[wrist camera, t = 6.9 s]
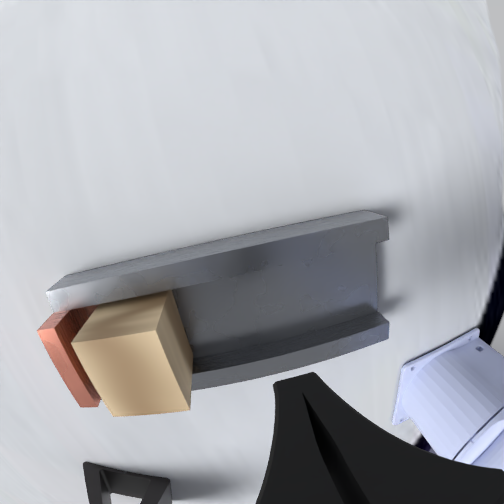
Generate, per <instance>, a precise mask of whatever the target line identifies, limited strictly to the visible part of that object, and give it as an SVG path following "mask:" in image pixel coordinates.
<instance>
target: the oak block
mask: <svg viewBox="0 0 504 504" xmlns="http://www.w3.org/2000/svg"><path fill="white" fill-rule="evenodd" d="M71 344H72V346H73V348H74V350H75V352H76V354H77V356H78V358H79V360H80V362H81V364H82V366H83V368H84V369H85V371H86V373H87V375H88V377H89V378H90V380H91V382H92V383H93V385H94V387H95V389H96V390H97V392H98V394H99V395H100V397H101V398H102V400H103V402H104V403H105V405H106V406H107V408H108V409H109V411H110V412H111V414H112V415H113V417H118V416H137V415H150V414H161V413H171V412H180V411H187V410H190V404H191V384H192V368H193V352H192V350H191V347H190V344H189V341H188V338H187V335H186V332H185V330H184V327H183V324H182V321H181V318H180V315H179V311H178V308H177V305H176V302H175V299H174V296H173V292H172V290H167V291H162V292H157V293H152V294H147V295H142V296H137V297H133V298H128V299H123V300H118V301H112V302H107V303H102V304H99V305H98V307H97V308H96V309H95V310H94V312H93V313H92V315H91V316H90V317H89V319H88V320H87V321H86V323H85V324H84V325H83V327H82V328H81V330H80V331H79V332H78V334H77V335H76V337H75V338H74V339H73V341H72V342H71Z"/></svg>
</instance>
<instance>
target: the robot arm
mask: <svg viewBox="0 0 504 504" xmlns="http://www.w3.org/2000/svg"><path fill="white" fill-rule="evenodd" d="M479 333H480V330H479V329H478V328H475V329H473V330H472V331H470V332H468V333H466V334H465V335H463V336H461V337H459V338H457V339H456V340H454V341H452V342H450V343H448V344H446V345H444V346H442V347H440V348H438V349H436V350H434V351H432V352H430V353H428V354H426V355H424V356H422V357H420V358H418V359H416V360H413V361H411V362H409V363H407V364H405V365H404V366H403V367H402V370H401V376H400V382H399V388H398V394H397V399H396V405H395V410H394V415H393V419H392V423H393V425H398V424H400V423H402V422H404V421H406V420H408V419H410V418H411V420H412V421H413V422H414V424H415V425H416V426H417V428H418V429H419V430H420V432H421V433H422V434H423V436H424V437H425V438H426V440H427V441H428V443H429V444H430V445H431V447H432V448H433V449H434V451H435V452H436V453H437V455H436V454H433V453H430V452H428V451H425V450H422V449H420V448H418V447H415V446H413V445H411V444H409V443H407V442H405V441H403V440H401V439H399V438H397V437H395V436H394V435H392V434H390V433H388V432H387V431H385V430H383V429H382V428H380V427H379V426H377V425H376V424H374V423H373V422H371V421H370V420H368V419H367V418H365V417H364V416H363V415H361V414H360V413H359V412H357V411H356V410H355V409H354V408H352V407H351V406H350V405H349V404H347V403H346V402H345V401H344V400H343V399H341V398H340V397H339V396H338V395H337V394H336V393H335V392H334V391H333V390H332V389H331V388H329V387H328V386H327V385H326V384H325V383H324V382H323V380H322V379H321V378H320V377H319V376H318V375H317V374H316V373H314V372H311V373H307V374H304V375H300V376H296V377H292V378H289V379H285V380H281V381H277V382H275V383H274V384H273V388H274V393H275V423H274V433H273V440H272V446H271V451H270V457H269V461H268V466H267V470H266V473H265V477H264V480H263V484H262V487H261V490H260V493H259V496H258V498H257V501H256V504H504V357H503V356H502V355H501V354H500V353H498V352H497V351H495V350H494V349H493V348H492V347H490V346H489V345H488V344H486V343H485V342H484V341H482V340H481V339H480V338H478V337H479Z"/></svg>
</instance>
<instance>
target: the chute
mask: <svg viewBox="0 0 504 504" xmlns="http://www.w3.org/2000/svg"><path fill="white" fill-rule="evenodd" d="M386 240H389V228H388V217H386V216H383V215H380V214H377V213H373V212H370V211H367V210H362V211H356V212H351V213H346V214H341V215H336V216H331V217H326V218H321V219H316V220H311V221H306V222H302V223H297V224H292V225H287V226H282V227H277V228H273V229H268V230H263V231H259V232H254V233H249V234H245V235H240V236H235V237H231V238H226V239H222V240H217V241H212V242H208V243H203V244H199V245H194V246H190V247H186V248H181V249H177V250H172V251H168V252H164V253H159V254H155V255H151V256H146V257H142V258H138V259H133V260H129V261H125V262H121V263H117V264H112V265H108V266H104V267H100V268H96V269H92V270H88V271H83V272H79V273H75V274H71V275H67V276H64V277H63V278H62V279H61V280H59V281H58V282H57V283H56V284H55V285H53V286H52V287H51V288H50V289H49V290H47V291H46V292H45V293H46V295H47V298H48V300H49V303H50V305H51V308H52V310H53V312H54V313H53V314H52V315H51V316H50V317H49V318H48V319H47V320H46V321H45V322H44V323H43V325H42V326H41V327H40V328H39V329H38V330H37V332H38V334H39V336H40V338H41V340H42V342H43V344H44V346H45V348H46V350H47V352H48V354H49V356H50V358H51V359H52V361H53V363H54V365H55V367H56V368H57V370H58V372H59V374H60V375H61V377H62V379H63V381H64V382H65V384H66V385H67V387H68V389H69V390H70V392H71V393H72V395H73V397H74V398H75V400H76V401H77V403H78V404H79V406H80V407H98V405H99V402H100V400H102V398H101V397H100V395H99V394H98V392H97V390H96V389H95V387H94V385H93V383H92V382H91V380H90V378H89V377H88V375H87V373H86V371H85V369H84V368H83V366H82V364H81V362H80V360H79V358H78V356H77V354H76V352H75V350H74V348H73V346H72V344H71V342H72V341H73V339H74V338H75V337H76V335H77V334H78V332H79V331H80V330H81V328H82V327H83V325H84V324H85V323H86V321H87V320H88V319H89V317H90V316H91V315H92V313H93V312H94V310H95V309H96V308H97V307H98V305H99V304H102V303H107V302H112V301H118V300H123V299H128V298H133V297H137V296H142V295H147V294H152V293H157V292H162V291H167V290H172V292H173V296H174V299H175V302H176V305H177V308H178V311H179V315H180V318H181V321H182V324H183V327H184V330H185V332H186V335H187V338H188V341H189V344H190V347H191V350H192V352H193V368H192V384H191V391H193V390H199V389H205V388H211V387H217V386H222V385H227V384H232V383H237V382H242V381H247V380H252V379H256V378H261V377H265V376H269V375H273V374H277V373H281V372H285V371H289V370H293V369H297V368H300V367H304V366H308V365H311V364H315V363H318V362H321V361H325V360H328V359H331V358H334V357H338V356H341V355H344V354H347V353H350V352H353V351H356V350H359V349H362V348H364V347H367V346H370V345H373V344H376V343H378V342H381V341H384V340H386V339H388V338H389V321H388V320H386V319H385V318H384V317H383V316H382V315H381V314H380V313H379V312H378V311H377V260H376V243H378V242H382V241H386Z"/></svg>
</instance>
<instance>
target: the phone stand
mask: <svg viewBox="0 0 504 504" xmlns="http://www.w3.org/2000/svg"><path fill="white" fill-rule="evenodd" d="M83 469H84V476H85V482H86V488H87V493H88V499H89V503H90V504H111V498H110V494H111V493H116V494H121V495H126V496H131V497H136V498H141V499H142V501H141V503H140V504H172V497H171V486H170V480H169V479H168V478H162V477H155V476H148V475H142V474H136V473H131V472H127V473H125V472H124V471H121V470H117V469H112V468H108V467H104V466H100V465H96V464H92V463H89V462H84V463H83Z"/></svg>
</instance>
